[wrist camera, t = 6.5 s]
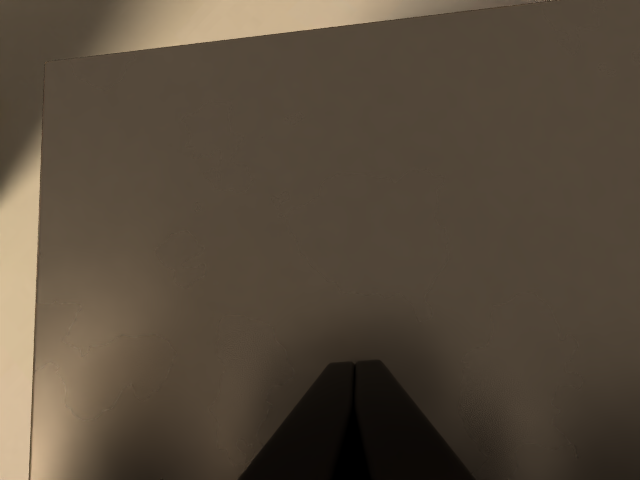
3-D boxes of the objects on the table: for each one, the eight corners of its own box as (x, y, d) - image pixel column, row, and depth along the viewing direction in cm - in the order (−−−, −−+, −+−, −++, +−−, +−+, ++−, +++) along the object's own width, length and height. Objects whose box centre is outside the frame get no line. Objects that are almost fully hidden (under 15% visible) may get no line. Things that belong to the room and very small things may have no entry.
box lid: (62, 76, 12) (42, 60, 11) (635, 9, 11) (651, -13, 10) (39, 827, 9) (11, 865, 9) (796, 841, 8) (834, 886, 7)
